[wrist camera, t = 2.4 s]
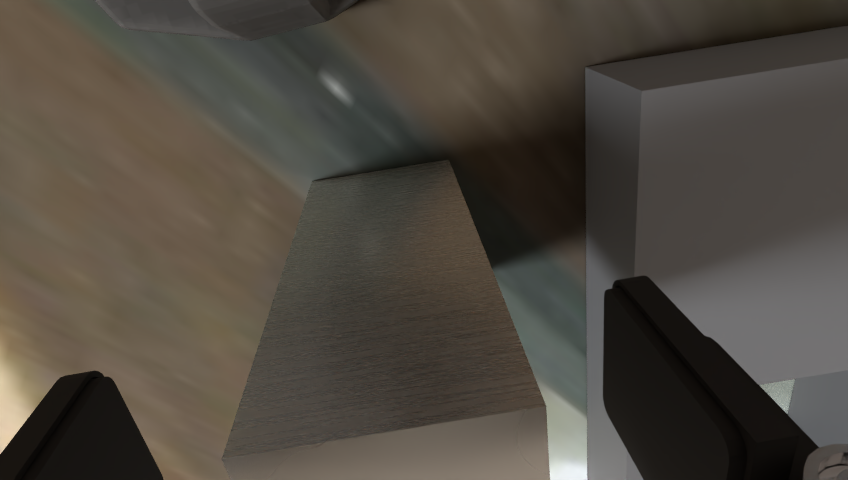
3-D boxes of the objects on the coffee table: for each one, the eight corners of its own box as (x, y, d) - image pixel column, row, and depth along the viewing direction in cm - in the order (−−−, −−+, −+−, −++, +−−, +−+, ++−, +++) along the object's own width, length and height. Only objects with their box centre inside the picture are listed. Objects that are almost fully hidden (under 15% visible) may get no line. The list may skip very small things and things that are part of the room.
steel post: (448, 159, 16) (545, 406, 7) (463, 277, 17) (555, 599, 8) (311, 181, 16) (221, 459, 7) (340, 297, 17) (301, 641, 8)
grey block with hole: (944, 10, 15) (1097, 18, 12) (797, 557, 25) (856, 639, 22) (585, 67, 15) (641, 91, 12) (588, 592, 25) (617, 678, 22)
